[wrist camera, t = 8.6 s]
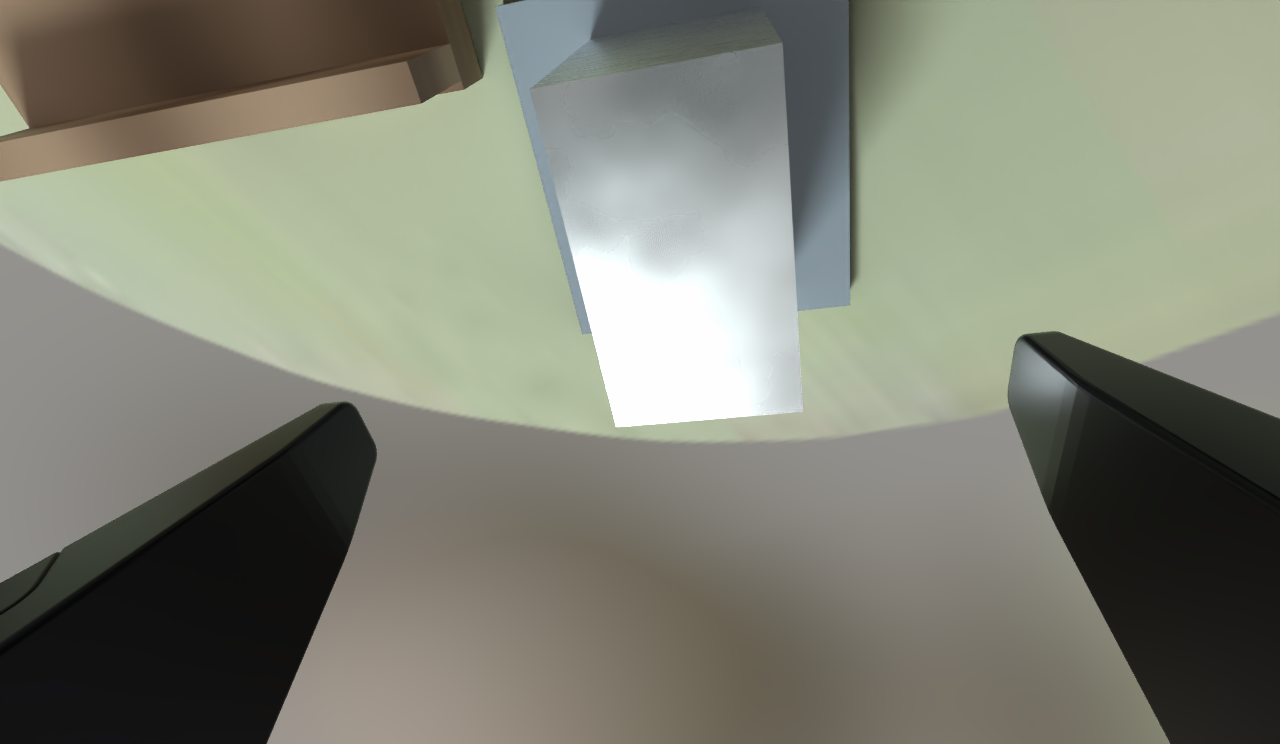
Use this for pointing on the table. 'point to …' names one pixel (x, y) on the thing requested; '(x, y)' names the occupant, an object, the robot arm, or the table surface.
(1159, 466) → the robot arm
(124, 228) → the table surface
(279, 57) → the brown wooden tray
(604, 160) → the metal block
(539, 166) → the rest mat
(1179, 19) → the table surface
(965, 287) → the table surface
